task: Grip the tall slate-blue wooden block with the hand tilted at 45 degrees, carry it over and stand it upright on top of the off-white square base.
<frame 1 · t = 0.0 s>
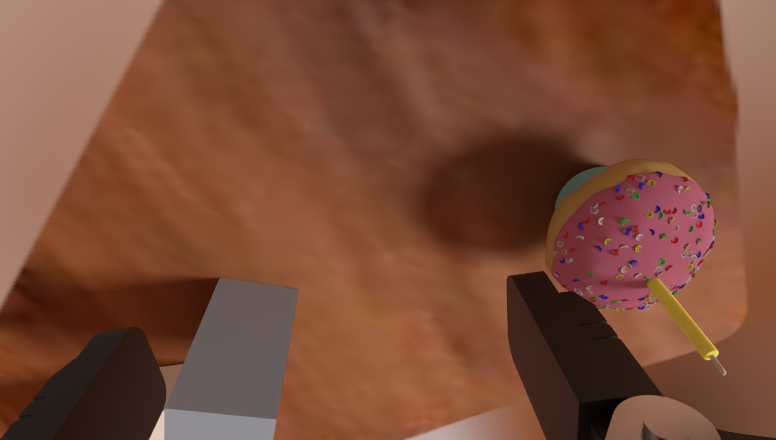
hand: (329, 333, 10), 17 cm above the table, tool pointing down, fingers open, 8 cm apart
block: (256, 313, 32), on the table
base: (156, 422, 36), on the table
cupcake: (588, 200, 29), on the table
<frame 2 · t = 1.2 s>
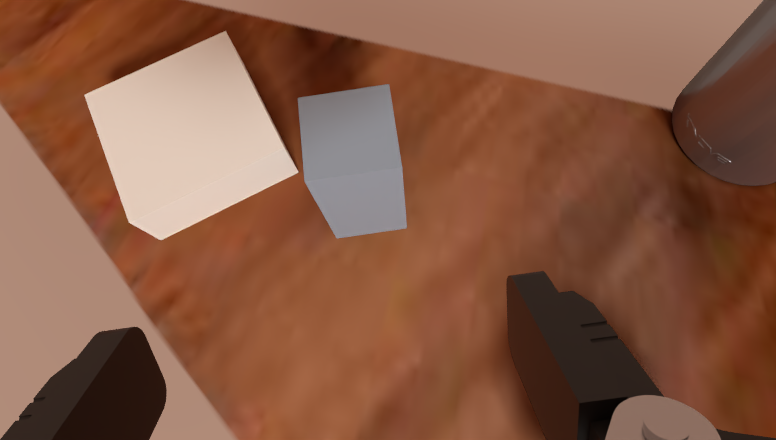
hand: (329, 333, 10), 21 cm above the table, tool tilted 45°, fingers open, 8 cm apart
block: (367, 200, 34), on the table
base: (205, 147, 37), on the table
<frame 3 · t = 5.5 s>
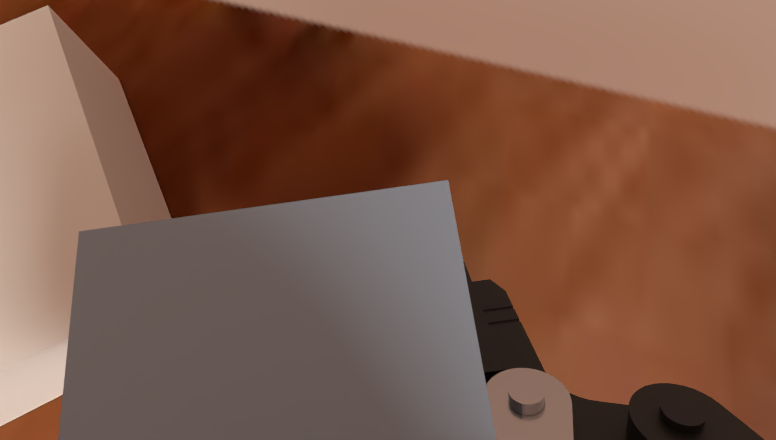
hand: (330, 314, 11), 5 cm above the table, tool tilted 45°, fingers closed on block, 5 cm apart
block: (361, 394, 15), on the table, touching gripper
base: (16, 254, 17), on the table
when the fingers open (10 cm above the table, at t = 10.6 s): block drops 1 cm, resting on base.
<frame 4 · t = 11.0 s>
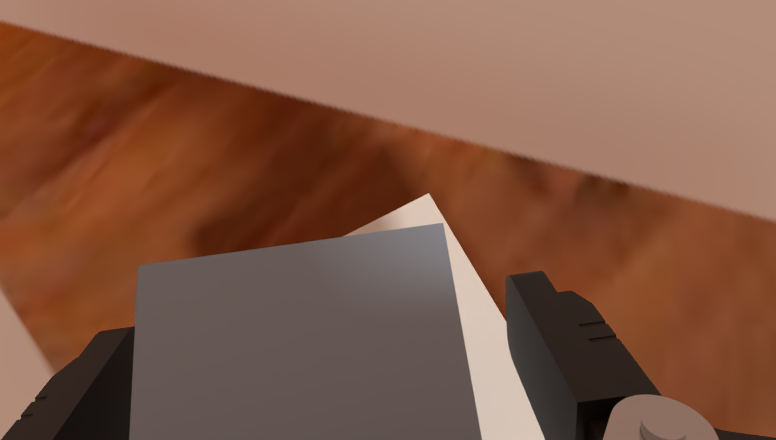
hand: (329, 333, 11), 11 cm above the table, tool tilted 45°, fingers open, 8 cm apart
block: (367, 397, 16), point 4 cm above the table, touching base
base: (375, 393, 20), on the table
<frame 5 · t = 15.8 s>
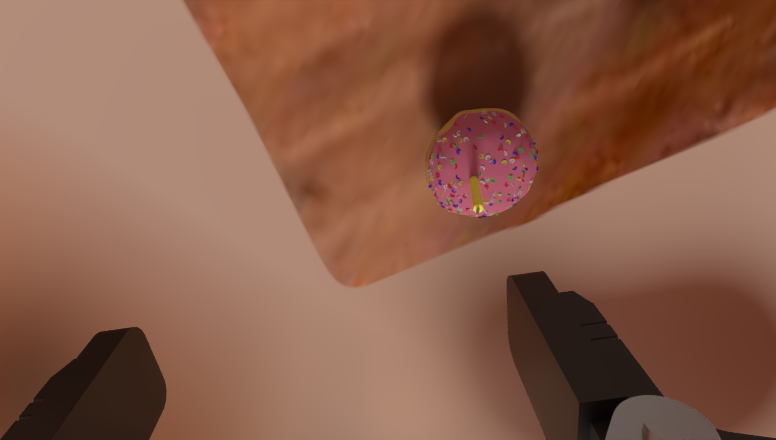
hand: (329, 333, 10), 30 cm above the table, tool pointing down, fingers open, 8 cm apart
cupcake: (468, 146, 40), on the table
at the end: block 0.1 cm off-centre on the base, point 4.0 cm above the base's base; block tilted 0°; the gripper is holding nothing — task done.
